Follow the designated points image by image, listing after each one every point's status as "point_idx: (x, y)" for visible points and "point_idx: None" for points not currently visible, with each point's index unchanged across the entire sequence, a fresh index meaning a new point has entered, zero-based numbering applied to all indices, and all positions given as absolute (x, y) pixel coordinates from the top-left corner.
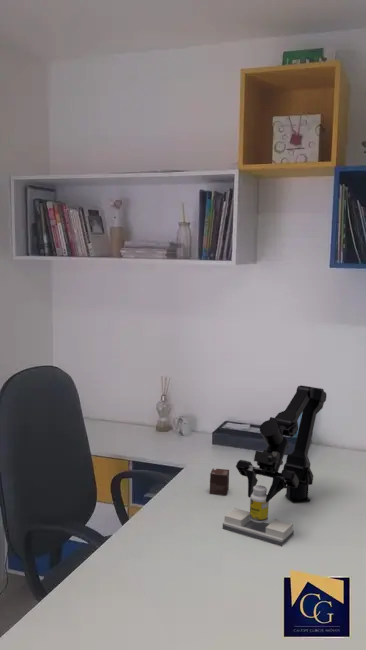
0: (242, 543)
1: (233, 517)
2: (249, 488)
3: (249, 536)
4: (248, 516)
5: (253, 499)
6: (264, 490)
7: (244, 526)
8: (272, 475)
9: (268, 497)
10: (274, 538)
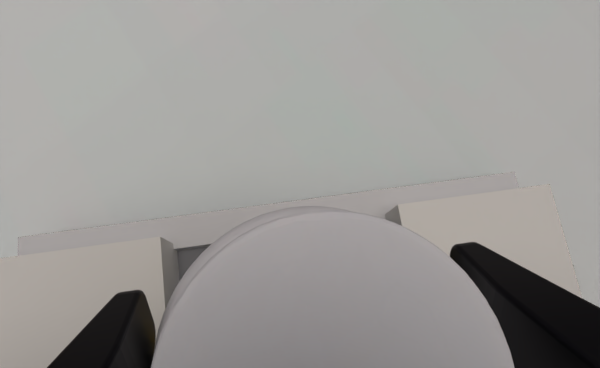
0: (270, 102)
1: (478, 207)
2: (568, 314)
3: None
4: None
5: (335, 208)
6: (159, 346)
7: None
8: None
9: (83, 332)
10: (83, 230)
